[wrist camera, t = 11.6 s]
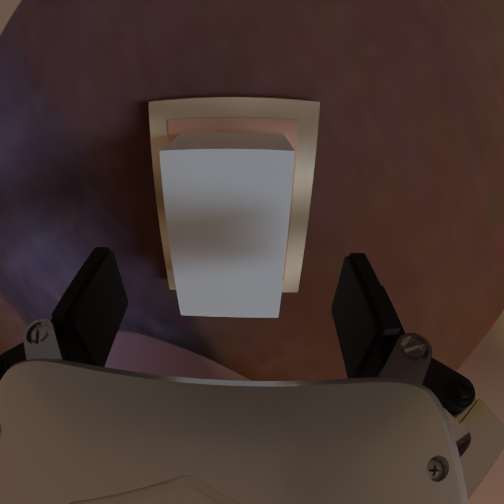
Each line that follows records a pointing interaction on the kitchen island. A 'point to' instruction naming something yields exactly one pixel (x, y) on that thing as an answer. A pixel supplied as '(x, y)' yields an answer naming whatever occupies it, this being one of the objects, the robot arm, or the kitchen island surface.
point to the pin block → (250, 121)
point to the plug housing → (228, 220)
